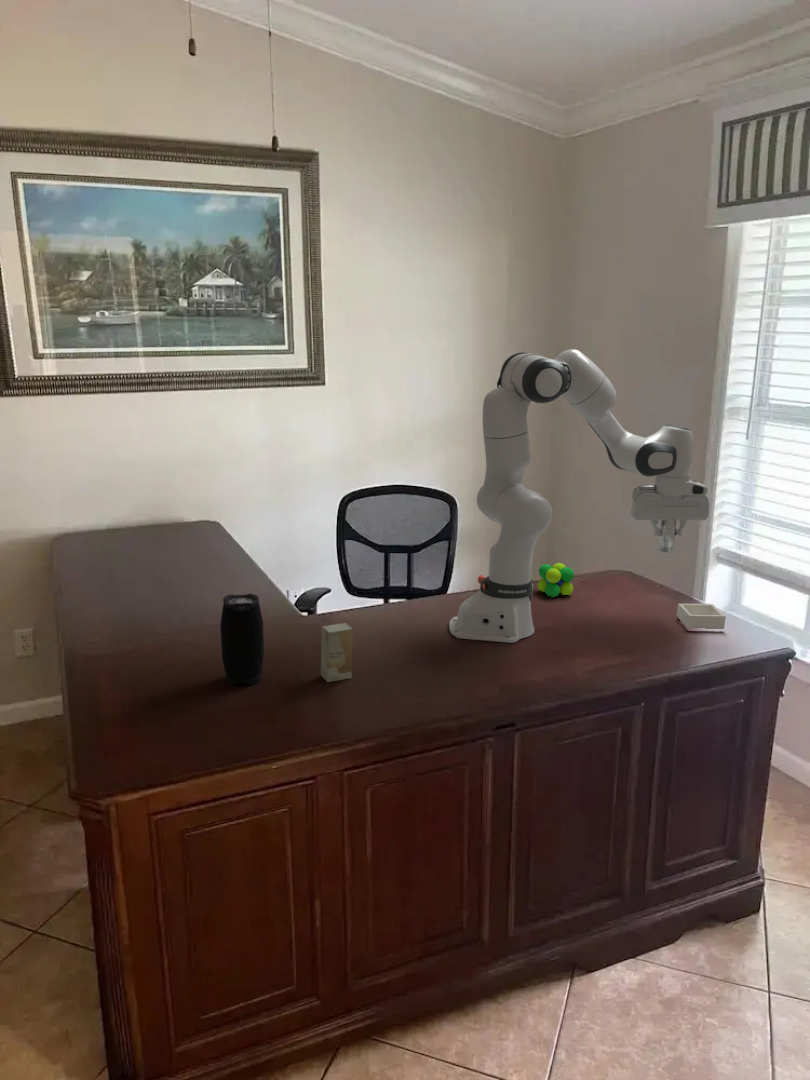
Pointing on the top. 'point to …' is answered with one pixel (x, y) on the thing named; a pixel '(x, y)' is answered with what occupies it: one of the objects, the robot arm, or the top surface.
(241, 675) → the portable speaker
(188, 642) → the top surface
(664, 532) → the cylinder
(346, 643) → the skincare box
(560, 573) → the molecule model
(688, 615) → the cream square tray
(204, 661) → the top surface
